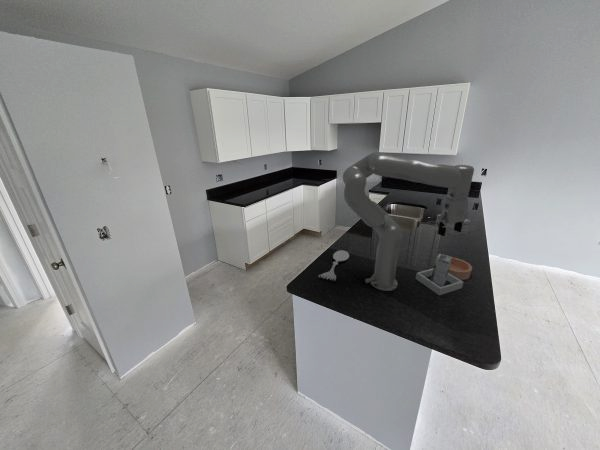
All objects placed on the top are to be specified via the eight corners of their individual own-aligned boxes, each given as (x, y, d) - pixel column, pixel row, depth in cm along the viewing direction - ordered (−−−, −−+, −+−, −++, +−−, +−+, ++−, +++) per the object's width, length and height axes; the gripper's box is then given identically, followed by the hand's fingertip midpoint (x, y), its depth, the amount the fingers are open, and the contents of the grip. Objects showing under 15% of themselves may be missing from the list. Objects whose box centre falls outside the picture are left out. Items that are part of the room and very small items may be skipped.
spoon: (317, 281, 125) (317, 275, 124) (336, 252, 152) (336, 247, 151) (335, 285, 122) (335, 279, 120) (350, 255, 149) (351, 250, 147)
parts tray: (439, 295, 113) (440, 289, 112) (415, 278, 125) (416, 272, 124) (461, 288, 118) (463, 281, 116) (436, 272, 130) (438, 266, 128)
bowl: (455, 282, 122) (457, 274, 120) (431, 267, 134) (432, 260, 133) (476, 276, 126) (478, 268, 125) (451, 262, 139) (453, 255, 137)
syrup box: (432, 278, 125) (438, 252, 120) (446, 282, 122) (452, 256, 116) (429, 283, 121) (435, 257, 116) (443, 288, 118) (449, 261, 112)
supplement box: (468, 233, 174) (471, 220, 171) (451, 235, 172) (454, 222, 168) (450, 224, 190) (452, 212, 186) (434, 226, 187) (437, 214, 184)
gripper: (450, 200, 99) (441, 239, 106) (480, 195, 105) (470, 232, 111) (434, 195, 106) (427, 233, 112) (463, 191, 111) (455, 226, 118)
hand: (449, 233), depth 112 cm, fingers open, 9 cm apart
